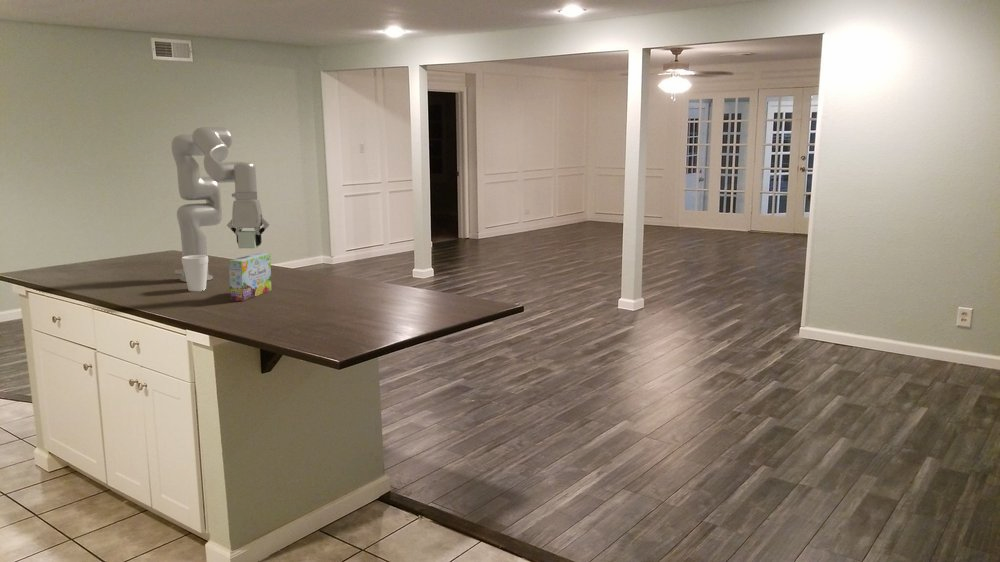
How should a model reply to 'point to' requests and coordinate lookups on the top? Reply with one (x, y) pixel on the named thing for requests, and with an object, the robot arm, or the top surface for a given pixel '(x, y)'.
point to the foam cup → (195, 271)
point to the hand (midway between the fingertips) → (249, 244)
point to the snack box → (249, 276)
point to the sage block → (247, 239)
